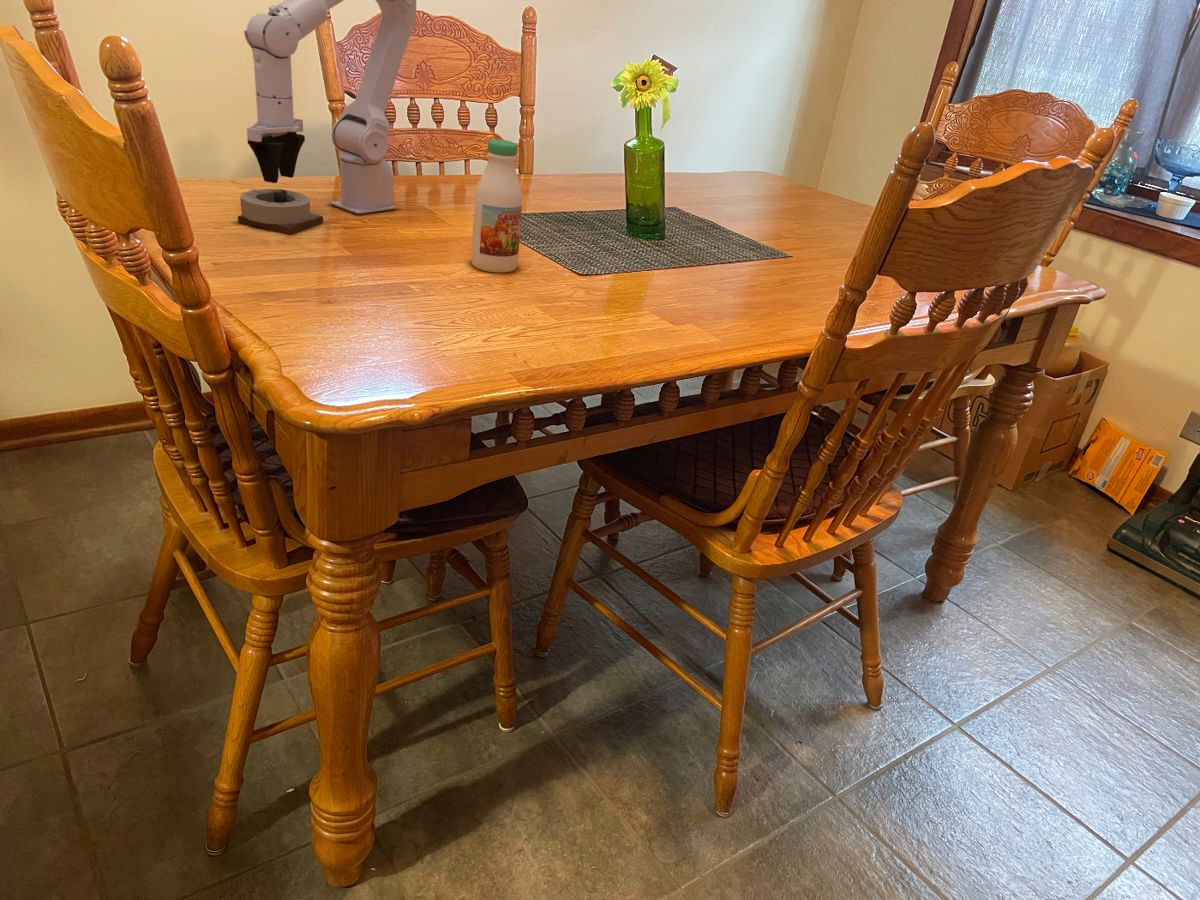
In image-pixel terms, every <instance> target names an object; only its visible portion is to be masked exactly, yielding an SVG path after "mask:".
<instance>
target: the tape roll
mask: <svg viewBox="0 0 1200 900" xmlns="http://www.w3.org/2000/svg"><path fill="white" fill-rule="evenodd" d="M273 190H275V188H261V189H259V188H258V189H251V190H248V191H244V192H241V194H240V212H241V213H240V214H241V215H242V216H244V217H246V218H247V219H249V220H252V221H256V222H261V223H265V224H295V223H302V222H304V221H307V220H309V219H310V213H311V198H310V197H309V196H308V195H305V194H303V193H301V192H297V191H293V190H288V189H285V190H286V191H287V202H285V203H274V197H273Z"/></svg>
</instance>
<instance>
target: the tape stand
mask: <svg viewBox="0 0 1200 900" xmlns="http://www.w3.org/2000/svg"><path fill="white" fill-rule="evenodd" d="M274 189H275V188H274ZM286 190H287V189H283V188H279V189H278V188H276V189H275V190H273V197H274V203H285V202H287V191H286ZM237 223H238V224H241V225H246V226H251V227H255V228H259V229H264V230H268V231H273V232H278V233H282V234H285V235H293V234H296V233H298V232H301V231H304V230H307V229H310V228H313V227H315V226H317V225H320V224H323V223H324V215H321V214H317V213H311V212H310V219H309V220H307V221H304V222H302V223H295V224H265V223H261V222H256V221H252V220H249V219H247V218H246V217H244V216H242V214H240V215H237Z"/></svg>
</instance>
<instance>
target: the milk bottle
mask: <svg viewBox="0 0 1200 900" xmlns="http://www.w3.org/2000/svg"><path fill="white" fill-rule="evenodd" d="M517 154H518V144H517V143H516V142H514V141H511V140H505V139H490V140H489V141H488V143H487V154H486V155H487V156H488V160H487V164H486V166H485V169H484V172H483V174H482V175H481V178H480V179H479V181H478V184H477V186H476V191H475V195H474V206H473V207H474V208H473V219H472V237H471V257H470V261H471V264H472V266H473V267H474V268H476V269H478V270H482V271H484V272H486V271H487V272H489V273H508V272H514V271H515V270H516V269H517V267H518V262H519V261H518V260H519V252H520V251H519V250H520V237H521V226H522V213H523V191H522V187H521V183H520V180H519V177H518V175H517V174H518V173H517V170H516V163H515V162H516V159H517Z"/></svg>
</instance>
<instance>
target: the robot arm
mask: <svg viewBox="0 0 1200 900" xmlns="http://www.w3.org/2000/svg"><path fill="white" fill-rule="evenodd" d="M344 1H345V0H283V1H281V2H280V3H279V4H277V5H276V4H272V5H271V6H268V13H256V14H254V15H253V16H252V17H251V18H250V19H249V21H248V23H247V26H246V30H243V33H244V38H245V40H246V43H247V44H248V45H249V47H250V49H251V51H252V59H253V69H254V71H253V72H254V85H255V86H254V87H255V98H256V113H257V114H256V116H257V121H256V122H255V123H254V124H252V125H251V126H249V127H247V128H246V135H247V137H246V139H247V144H248V146H249V147H250V149H251V151H252V152H253V154H254V156H255V158H256V160H257V163H258V166H259V169H260V172H261V175H262V179H263V181H264V182H266V183H270V184H278V181H279V176H281V177H284V178H285V177H286V178H291V179H293V178H294V177H295V171H296V166H297V162H298V158H299V153H300V151H301V149H302V147H303V145H304V143H305V141H306V136H305V135H304V134H301V132H304V120H303V119H299V118H294V117H295V116H294V98H293V97H294V95H293V76H292V74H293V73H292V55H294V54H295V53H296V51H297V49H298V47H299V42H300V41H301V40H303V39H304V38H305V37H307V36H309V34H311V33H312V32H313V31H315V30H317V29H318V28H319V27H320V26H322V25H323V24H325V23H326V22H327V20H328V11H329V10H331V9H332V8H334V7H335V6H337V5H339V4H341V3H342V2H344ZM375 3H377V5H378V7H379V9H380V12H381V15H382V16H381V19H380V23H379V25H378V28H377V31H376V34H375V37H374V41H373V44H372V47H371V50H370V53H369V55H368V60H367V62H366V65H365V69H364V72H363V74H362V78H361V80H360V84H359V87H358V91H357V93H356V96H355V99H354V100H353V101H352V102H351V103H350V104H348V105H346V106H345V107H344V108H343V110H342V113H341V115H340V117H339V118H338V120H337V121H336V122H334V124H333V126H332V129H331V141H332V143H333V145H334V147H335V148H336V149H337V150H338V156H339V170H340V171H339V173H340V174H339V176H340V177H339V179H340V200H333V201H330V205H331V206H334V207H337V208H340V209H343V210H345V211H348V212H351V213H354V214H356V215H362V214H369V213H370V214H371V213H376V212H383V211H389V210H391V211H392V210H396V208H397V206H396V205H394V173H393V169H392V167H391V164H389V162H388V161H387V160H385V157H386V155H387V153H388V150H389V134H390V131H391V124H390V122H389V120H388V118H387V116H386V111H387V108H388V104H389V101H390V98H391V95H392V92H393V90H394V86H395V82H396V80H397V76H398V74H399V71H400V69H401V65H402V61H403V58H404V56H405V53H406V50H407V47H408V43H409V41H410V37H411V35H412V32H413V29H414V26H415V23H416V19H417V0H375ZM279 174H280V175H279Z"/></svg>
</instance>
